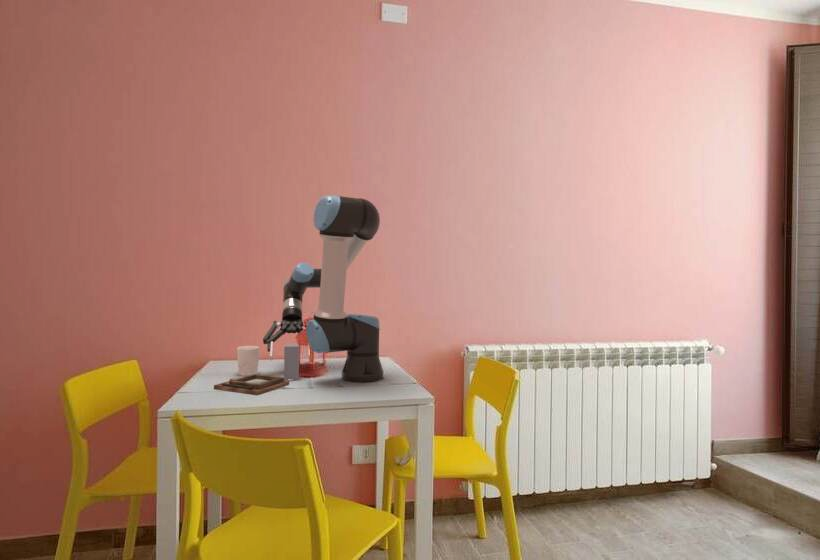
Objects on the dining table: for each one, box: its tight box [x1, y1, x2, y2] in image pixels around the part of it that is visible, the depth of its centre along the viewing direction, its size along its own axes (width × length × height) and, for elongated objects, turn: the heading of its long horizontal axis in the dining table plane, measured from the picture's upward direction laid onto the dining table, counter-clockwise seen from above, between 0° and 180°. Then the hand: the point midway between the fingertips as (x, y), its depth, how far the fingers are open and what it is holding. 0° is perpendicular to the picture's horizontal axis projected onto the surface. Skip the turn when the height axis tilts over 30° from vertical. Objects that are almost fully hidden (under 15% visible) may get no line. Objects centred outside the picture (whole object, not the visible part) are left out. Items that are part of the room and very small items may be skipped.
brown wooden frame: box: [213, 373, 290, 396], centre depth 169 cm, size 18×16×3 cm
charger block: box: [283, 343, 300, 381], centre depth 182 cm, size 5×5×12 cm
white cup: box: [236, 345, 260, 377], centre depth 189 cm, size 8×8×10 cm
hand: (290, 358), depth 183 cm, fingers open, 13 cm apart
